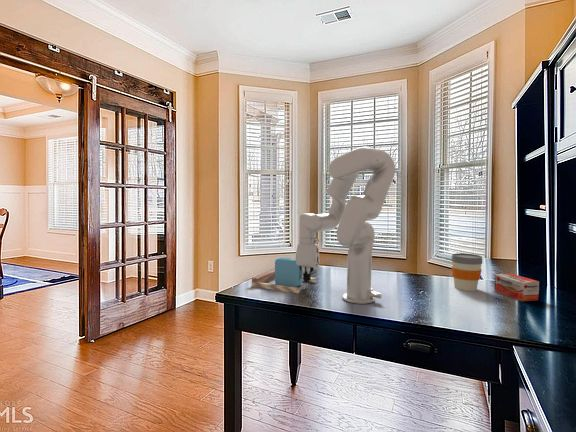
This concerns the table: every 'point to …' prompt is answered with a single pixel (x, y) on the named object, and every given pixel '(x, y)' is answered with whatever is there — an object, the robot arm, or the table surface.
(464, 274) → the reusable coffee cup
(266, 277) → the guide channel
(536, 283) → the medicine box
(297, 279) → the light blue square slab
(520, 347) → the table surface
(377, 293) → the robot arm
